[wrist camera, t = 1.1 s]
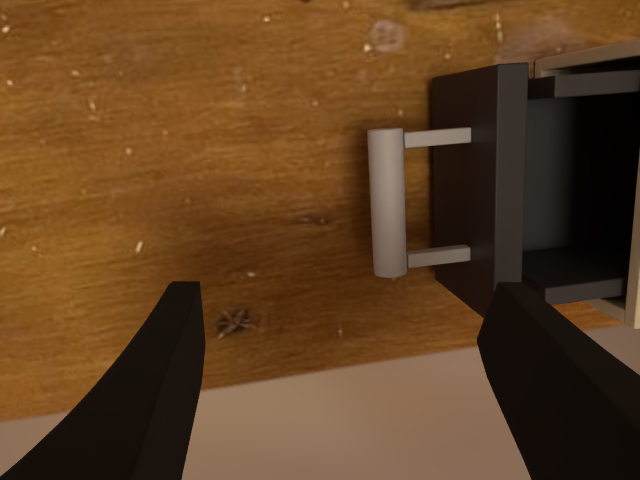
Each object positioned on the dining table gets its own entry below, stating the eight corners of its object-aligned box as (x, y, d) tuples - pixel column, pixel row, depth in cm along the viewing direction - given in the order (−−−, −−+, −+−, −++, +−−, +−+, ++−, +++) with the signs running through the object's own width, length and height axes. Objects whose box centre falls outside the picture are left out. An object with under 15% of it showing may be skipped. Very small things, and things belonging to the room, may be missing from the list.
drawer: (356, 289, 25) (392, 341, 19) (344, 83, 23) (382, 71, 17) (661, 250, 27) (776, 286, 22) (681, 61, 25) (817, 43, 19)
